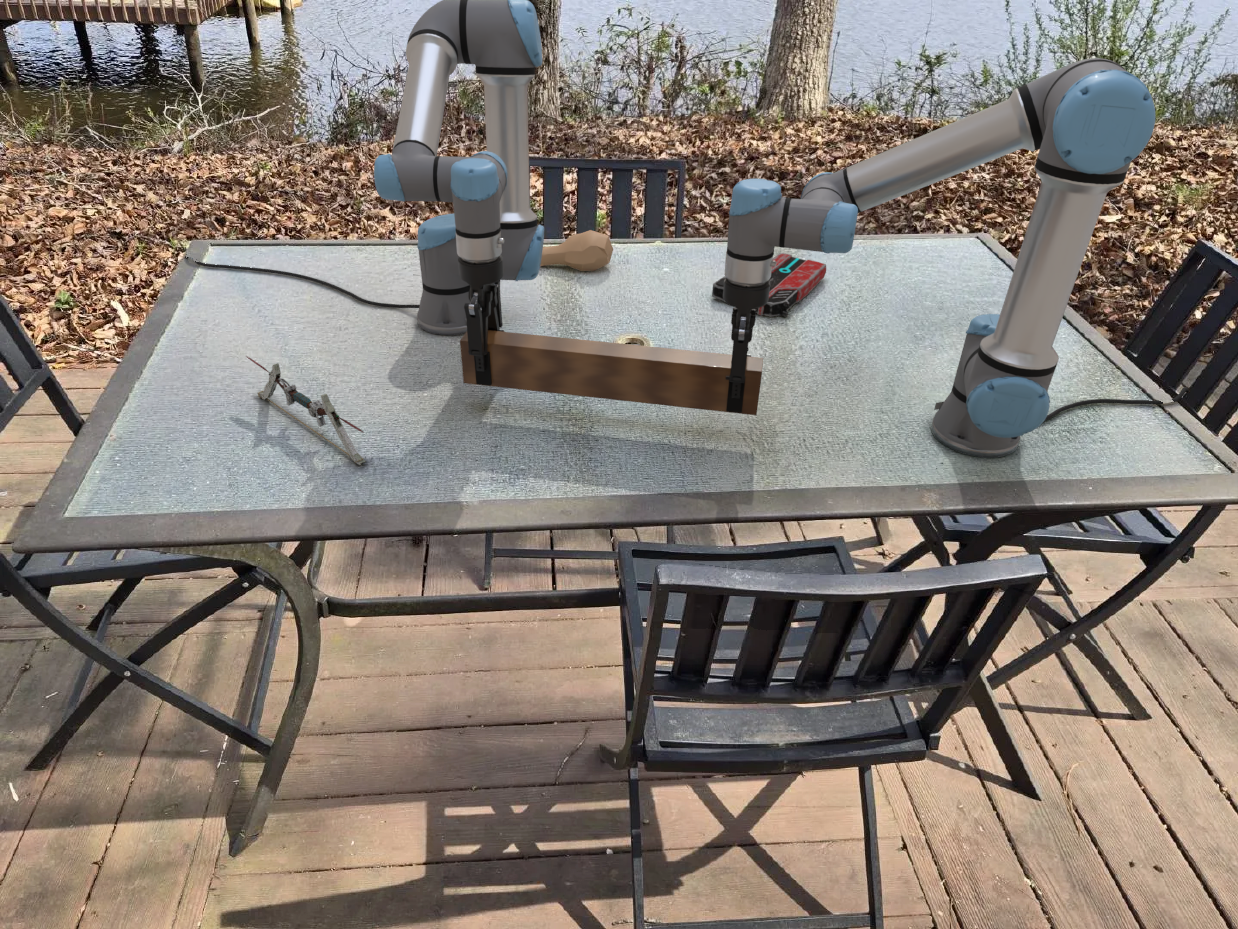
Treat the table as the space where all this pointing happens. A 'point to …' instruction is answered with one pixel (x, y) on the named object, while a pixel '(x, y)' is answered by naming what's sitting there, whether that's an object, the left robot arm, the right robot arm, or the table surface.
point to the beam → (613, 371)
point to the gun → (785, 283)
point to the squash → (580, 252)
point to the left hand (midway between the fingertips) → (488, 375)
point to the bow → (311, 409)
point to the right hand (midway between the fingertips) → (735, 402)
